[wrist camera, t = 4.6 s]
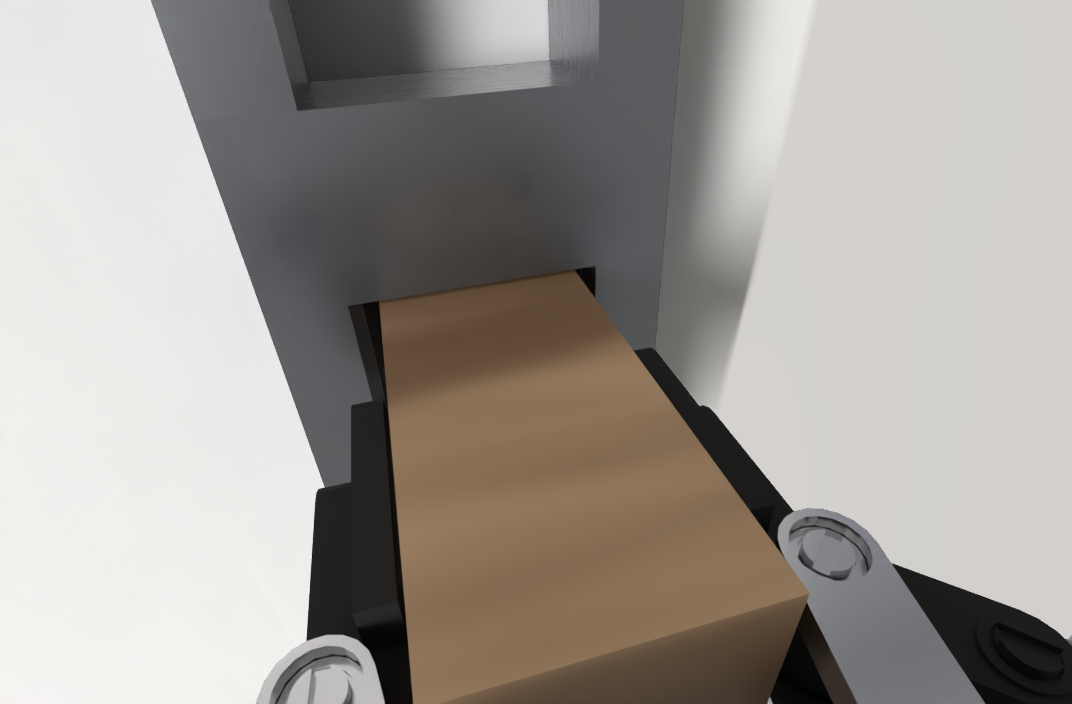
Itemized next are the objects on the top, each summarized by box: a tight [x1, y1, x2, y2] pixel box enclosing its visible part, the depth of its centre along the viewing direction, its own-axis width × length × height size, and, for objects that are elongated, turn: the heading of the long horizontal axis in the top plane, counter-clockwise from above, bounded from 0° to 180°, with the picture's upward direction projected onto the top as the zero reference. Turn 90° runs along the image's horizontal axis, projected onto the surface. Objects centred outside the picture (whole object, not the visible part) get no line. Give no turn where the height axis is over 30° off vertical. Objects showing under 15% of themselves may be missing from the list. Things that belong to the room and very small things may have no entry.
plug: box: [379, 269, 810, 704], centre depth 10 cm, size 4×4×9 cm
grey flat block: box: [151, 0, 684, 488], centre depth 12 cm, size 18×8×3 cm, turn 3°
